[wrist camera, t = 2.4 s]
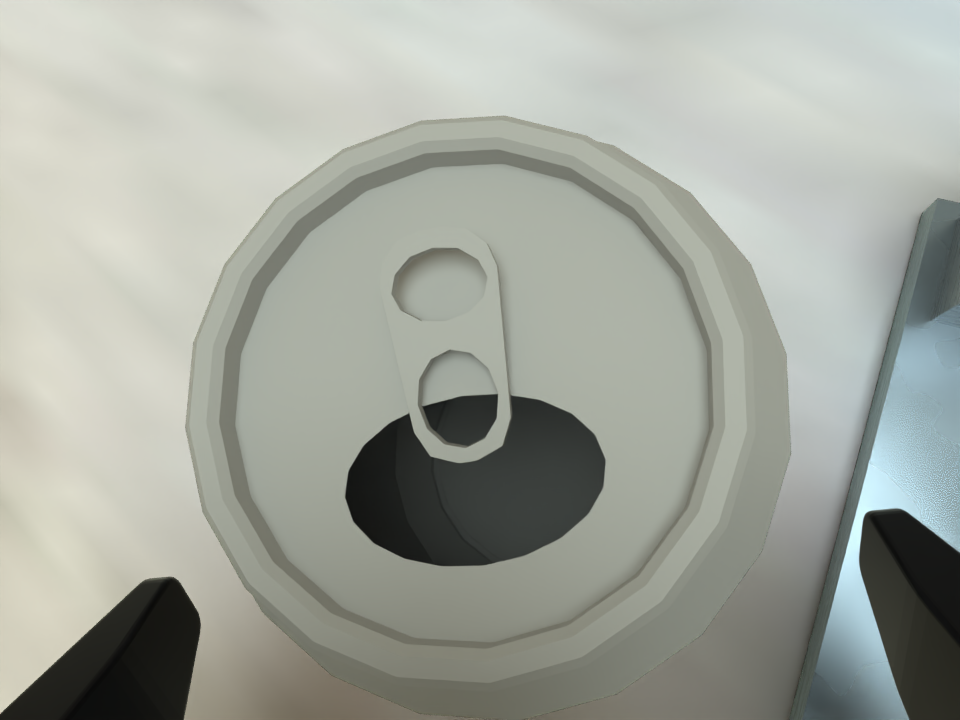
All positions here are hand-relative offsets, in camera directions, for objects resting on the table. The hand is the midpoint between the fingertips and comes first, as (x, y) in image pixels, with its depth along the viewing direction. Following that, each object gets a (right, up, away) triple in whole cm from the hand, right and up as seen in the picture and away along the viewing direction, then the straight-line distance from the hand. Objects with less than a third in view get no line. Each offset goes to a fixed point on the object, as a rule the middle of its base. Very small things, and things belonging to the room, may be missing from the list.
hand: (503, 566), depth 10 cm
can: (+1, 0, +10) cm, 10 cm away
